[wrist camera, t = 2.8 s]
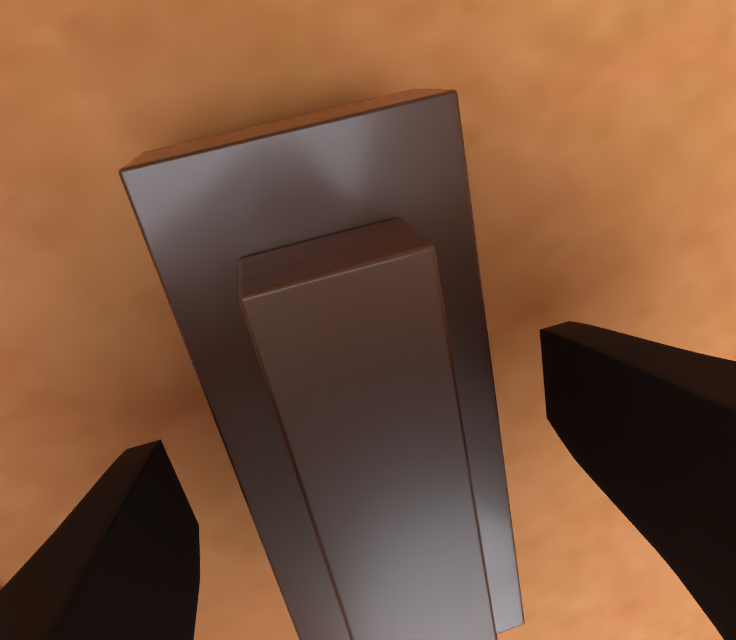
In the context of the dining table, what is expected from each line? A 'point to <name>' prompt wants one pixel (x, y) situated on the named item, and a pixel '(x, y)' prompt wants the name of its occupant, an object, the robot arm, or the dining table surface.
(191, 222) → the brush
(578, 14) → the dining table surface
